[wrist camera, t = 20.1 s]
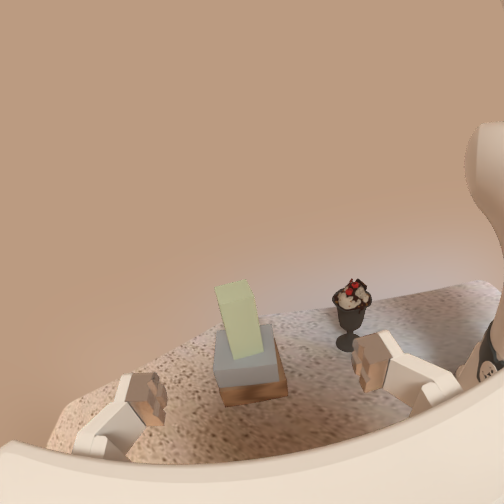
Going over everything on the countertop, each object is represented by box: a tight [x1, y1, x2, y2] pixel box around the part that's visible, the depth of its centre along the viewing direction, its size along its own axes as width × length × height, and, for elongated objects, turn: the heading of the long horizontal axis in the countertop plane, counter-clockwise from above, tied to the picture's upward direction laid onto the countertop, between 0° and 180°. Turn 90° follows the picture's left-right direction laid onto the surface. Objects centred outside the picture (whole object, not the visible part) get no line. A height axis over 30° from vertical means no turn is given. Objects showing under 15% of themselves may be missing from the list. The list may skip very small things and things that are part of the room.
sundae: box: [332, 279, 372, 352], centre depth 46 cm, size 7×7×15 cm
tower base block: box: [219, 338, 288, 407], centre depth 45 cm, size 10×10×4 cm
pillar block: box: [214, 279, 264, 360], centre depth 40 cm, size 4×4×10 cm
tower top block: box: [213, 324, 279, 388], centre depth 43 cm, size 9×9×4 cm
